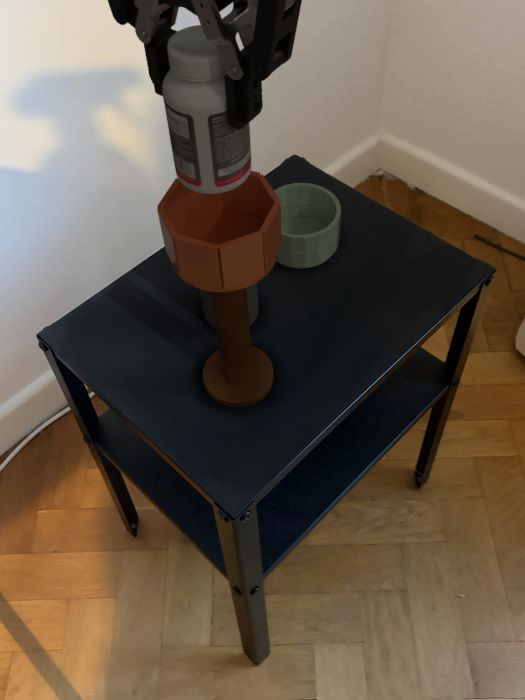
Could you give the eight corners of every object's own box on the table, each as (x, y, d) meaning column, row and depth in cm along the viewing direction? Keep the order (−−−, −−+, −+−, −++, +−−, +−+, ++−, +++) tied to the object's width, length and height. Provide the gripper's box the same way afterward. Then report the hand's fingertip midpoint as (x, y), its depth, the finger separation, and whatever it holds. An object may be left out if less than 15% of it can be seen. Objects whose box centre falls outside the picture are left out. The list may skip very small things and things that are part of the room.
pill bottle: (251, 145, 53) (244, 16, 45) (252, 195, 50) (245, 65, 42) (177, 148, 53) (157, 20, 45) (173, 198, 50) (151, 69, 42)
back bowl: (282, 279, 80) (281, 247, 76) (251, 229, 85) (248, 196, 81) (352, 254, 82) (355, 222, 78) (317, 206, 86) (318, 173, 82)
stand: (219, 418, 70) (198, 296, 55) (193, 364, 74) (168, 236, 59) (285, 391, 71) (282, 266, 57) (256, 340, 75) (247, 210, 61)
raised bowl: (192, 307, 55) (184, 261, 51) (155, 233, 59) (145, 186, 55) (296, 270, 56) (296, 223, 52) (252, 201, 61) (249, 153, 57)
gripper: (4, -215, 34) (85, 98, 48) (248, -152, 29) (262, 179, 43) (113, -258, 38) (160, 45, 51) (348, -210, 32) (331, 114, 46)
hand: (206, 104), depth 47 cm, fingers closed on pill bottle, 5 cm apart
